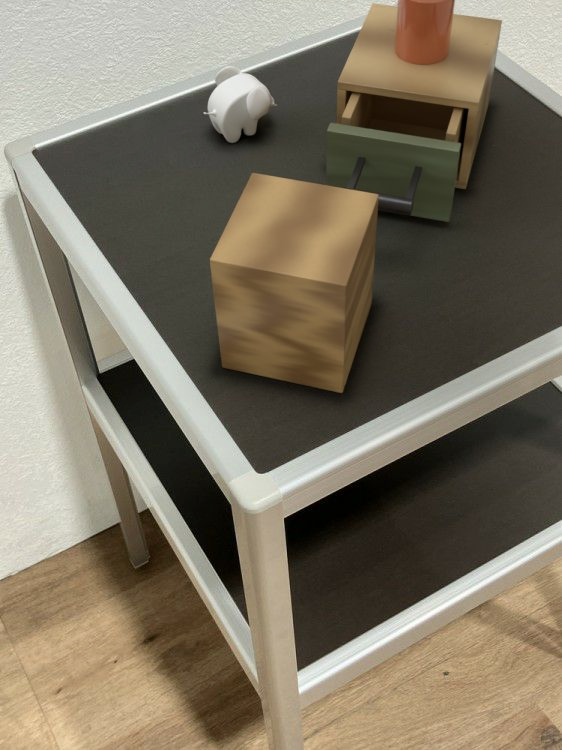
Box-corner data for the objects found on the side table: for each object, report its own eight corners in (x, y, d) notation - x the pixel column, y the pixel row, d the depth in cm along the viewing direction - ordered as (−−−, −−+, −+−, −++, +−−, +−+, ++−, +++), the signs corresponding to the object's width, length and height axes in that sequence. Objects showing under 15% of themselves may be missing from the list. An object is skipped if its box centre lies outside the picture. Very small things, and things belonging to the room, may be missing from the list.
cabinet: (465, 189, 91) (479, 102, 83) (335, 167, 93) (337, 81, 86) (488, 105, 99) (502, 19, 92) (368, 87, 101) (372, 2, 94)
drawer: (436, 265, 83) (446, 195, 77) (309, 241, 86) (308, 171, 79) (472, 138, 94) (482, 68, 88) (358, 121, 96) (361, 51, 90)
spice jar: (453, 38, 90) (461, -23, 85) (443, 68, 87) (450, 6, 82) (400, 31, 91) (405, -30, 86) (389, 60, 88) (393, -1, 83)
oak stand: (371, 304, 82) (378, 193, 72) (342, 393, 76) (346, 285, 66) (259, 282, 84) (252, 172, 74) (221, 367, 78) (209, 259, 68)
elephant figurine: (292, 133, 97) (291, 81, 92) (224, 162, 94) (220, 110, 90) (256, 100, 101) (253, 49, 96) (189, 128, 98) (183, 76, 93)
